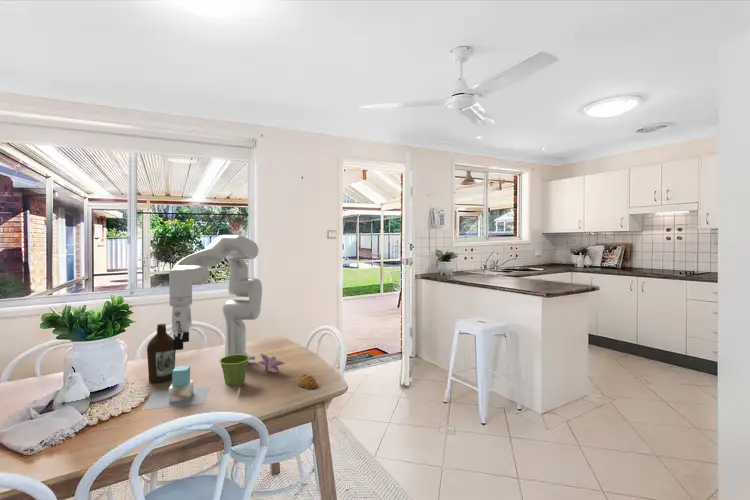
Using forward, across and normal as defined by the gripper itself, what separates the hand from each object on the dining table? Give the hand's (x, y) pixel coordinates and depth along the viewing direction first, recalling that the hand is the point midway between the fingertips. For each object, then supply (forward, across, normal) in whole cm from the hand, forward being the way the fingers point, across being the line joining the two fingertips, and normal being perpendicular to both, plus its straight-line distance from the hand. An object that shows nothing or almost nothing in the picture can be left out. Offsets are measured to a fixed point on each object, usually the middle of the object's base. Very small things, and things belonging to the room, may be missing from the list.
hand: (181, 345), depth 140 cm
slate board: (+21, 0, +1) cm, 21 cm away
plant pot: (+22, +10, -18) cm, 30 cm away
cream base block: (+20, 0, 0) cm, 20 cm away
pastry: (+22, +4, -48) cm, 53 cm away
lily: (+22, +20, -32) cm, 44 cm away
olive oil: (+22, +20, +12) cm, 32 cm away
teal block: (+15, 0, 0) cm, 15 cm away
